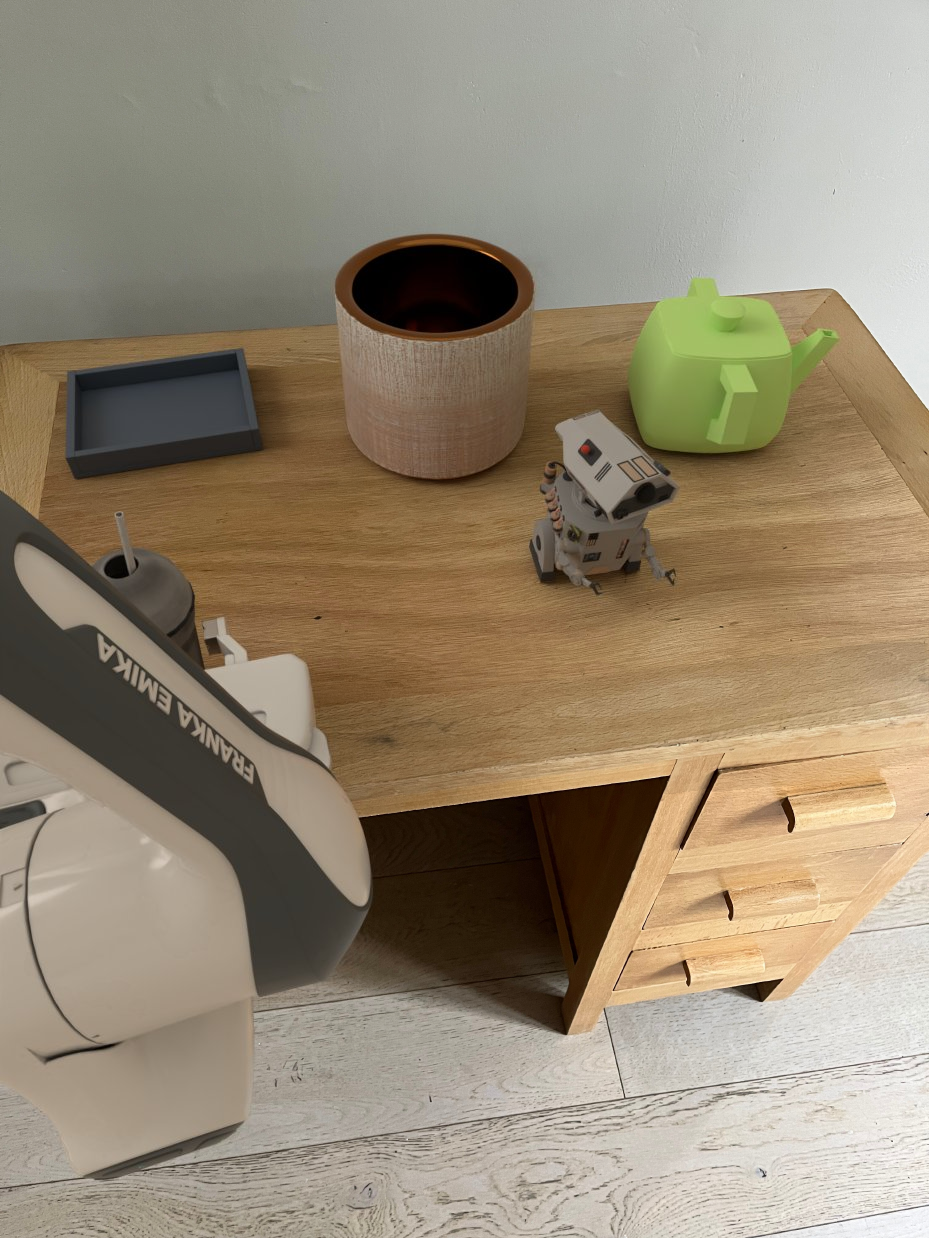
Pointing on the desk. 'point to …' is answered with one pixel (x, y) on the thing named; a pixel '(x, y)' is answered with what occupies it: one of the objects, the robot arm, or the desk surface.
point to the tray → (159, 413)
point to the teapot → (717, 372)
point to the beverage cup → (154, 590)
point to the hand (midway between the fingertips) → (141, 638)
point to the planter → (435, 352)
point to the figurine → (599, 504)
